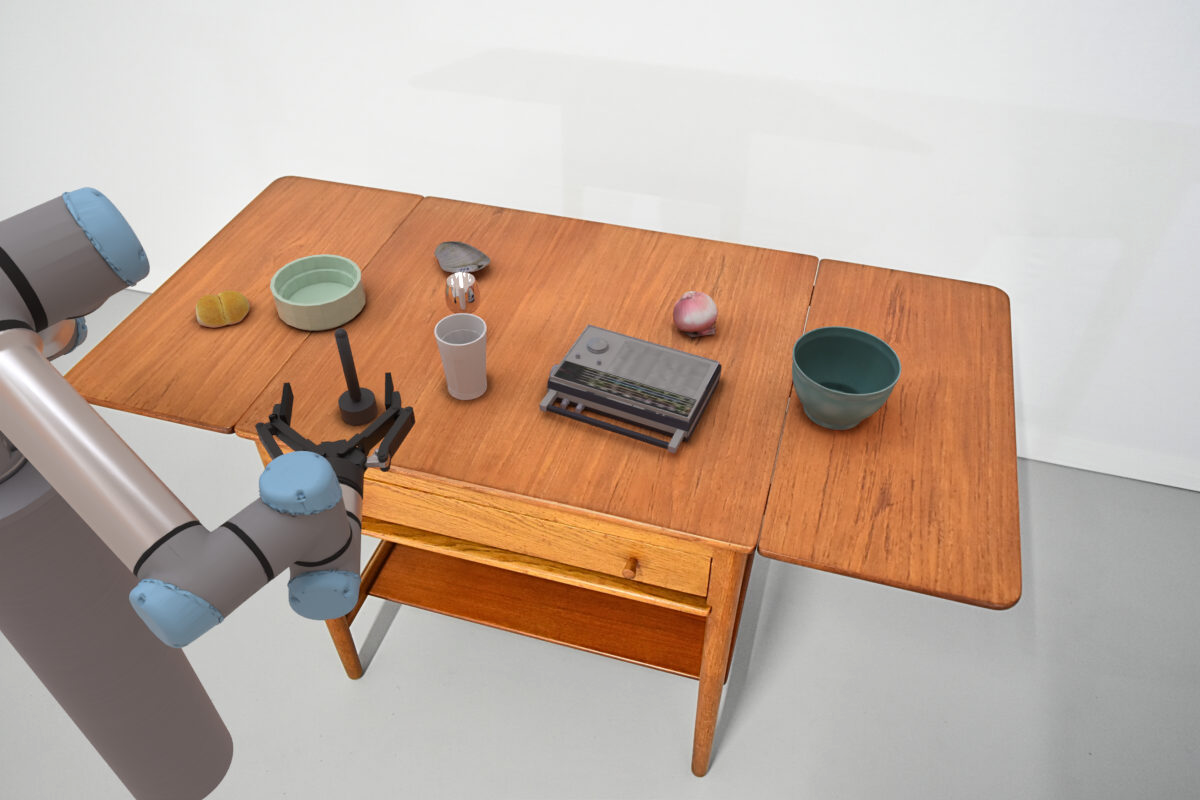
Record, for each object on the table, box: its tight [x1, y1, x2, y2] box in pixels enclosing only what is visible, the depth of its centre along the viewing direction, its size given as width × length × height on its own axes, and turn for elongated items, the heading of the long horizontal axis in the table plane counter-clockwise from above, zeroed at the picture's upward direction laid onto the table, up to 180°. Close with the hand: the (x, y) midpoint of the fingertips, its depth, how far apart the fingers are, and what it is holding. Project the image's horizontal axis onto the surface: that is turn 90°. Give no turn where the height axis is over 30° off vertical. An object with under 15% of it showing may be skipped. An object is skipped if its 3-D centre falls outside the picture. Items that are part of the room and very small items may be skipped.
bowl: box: [269, 253, 367, 332], centre depth 159 cm, size 15×15×6 cm
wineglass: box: [444, 272, 481, 314], centre depth 151 cm, size 6×6×12 cm
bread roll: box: [194, 290, 251, 329], centre depth 158 cm, size 8×9×4 cm
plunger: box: [334, 327, 379, 427], centre depth 135 cm, size 6×6×17 cm
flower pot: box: [791, 325, 902, 431], centre depth 139 cm, size 16×16×11 cm
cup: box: [433, 313, 488, 401], centre depth 142 cm, size 8×8×12 cm
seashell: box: [433, 240, 492, 274], centre depth 168 cm, size 12×8×5 cm
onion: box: [672, 290, 719, 338], centre depth 155 cm, size 8×8×7 cm
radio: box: [538, 324, 722, 454], centre depth 143 cm, size 24×5×20 cm
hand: (339, 384), depth 124 cm, fingers open, 13 cm apart
